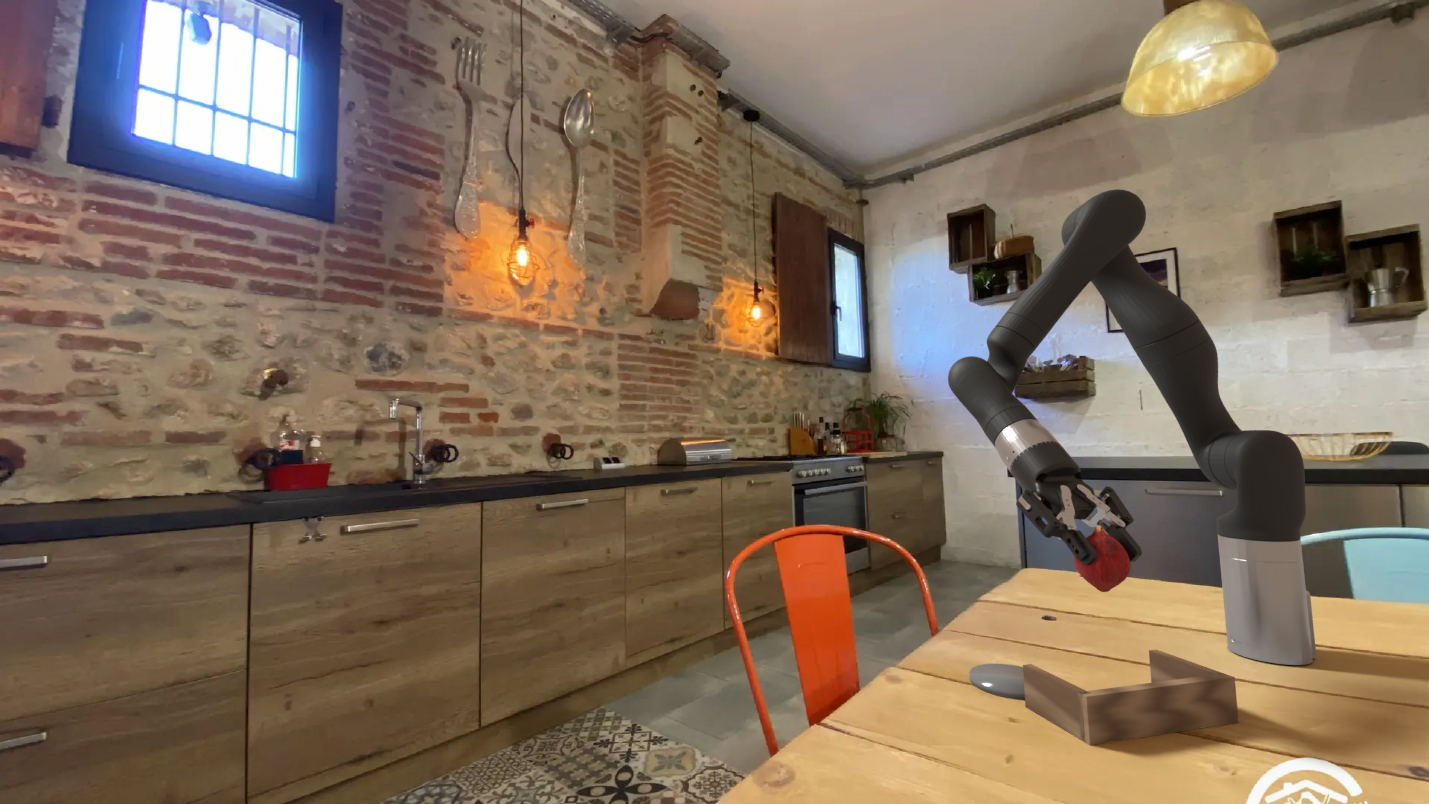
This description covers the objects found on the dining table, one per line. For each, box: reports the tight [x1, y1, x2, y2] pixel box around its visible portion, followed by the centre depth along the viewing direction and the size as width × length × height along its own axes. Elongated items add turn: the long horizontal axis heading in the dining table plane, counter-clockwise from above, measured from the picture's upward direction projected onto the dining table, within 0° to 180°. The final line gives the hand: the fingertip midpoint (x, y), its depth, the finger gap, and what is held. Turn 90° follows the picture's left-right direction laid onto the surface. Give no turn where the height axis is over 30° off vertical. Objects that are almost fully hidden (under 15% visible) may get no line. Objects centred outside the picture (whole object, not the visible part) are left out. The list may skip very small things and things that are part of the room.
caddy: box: [1022, 649, 1240, 746], centre depth 70 cm, size 20×10×5 cm, turn 102°
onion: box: [1073, 526, 1132, 593], centre depth 73 cm, size 6×6×8 cm
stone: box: [968, 663, 1025, 700], centre depth 80 cm, size 10×10×1 cm
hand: (1113, 559), depth 71 cm, fingers closed on onion, 5 cm apart
